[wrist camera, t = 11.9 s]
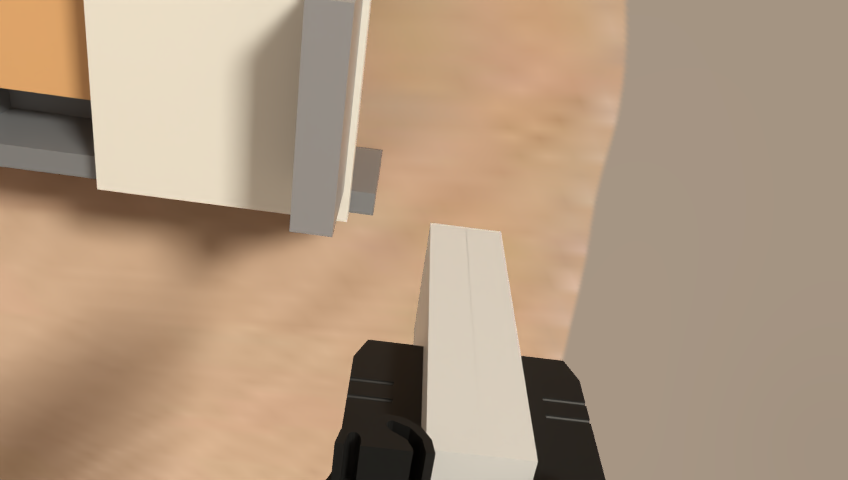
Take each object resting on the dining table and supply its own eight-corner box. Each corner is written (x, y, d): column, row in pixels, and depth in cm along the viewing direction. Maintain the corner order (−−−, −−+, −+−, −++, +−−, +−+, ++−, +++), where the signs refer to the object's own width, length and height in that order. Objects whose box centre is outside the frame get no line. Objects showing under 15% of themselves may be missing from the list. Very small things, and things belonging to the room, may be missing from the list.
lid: (105, 181, 30) (51, 236, 26) (85, -108, 25) (15, -99, 21) (348, 213, 31) (336, 272, 26) (378, -63, 26) (367, -45, 21)
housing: (-224, 97, 34) (-322, 135, 30) (-308, -202, 28) (-444, -211, 24) (378, 178, 36) (371, 225, 31) (412, -89, 30) (409, -78, 26)
